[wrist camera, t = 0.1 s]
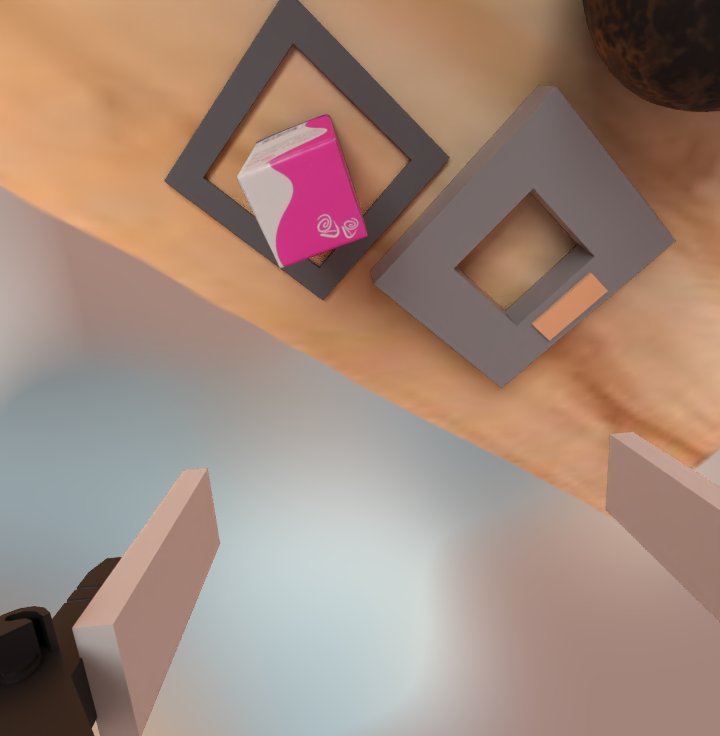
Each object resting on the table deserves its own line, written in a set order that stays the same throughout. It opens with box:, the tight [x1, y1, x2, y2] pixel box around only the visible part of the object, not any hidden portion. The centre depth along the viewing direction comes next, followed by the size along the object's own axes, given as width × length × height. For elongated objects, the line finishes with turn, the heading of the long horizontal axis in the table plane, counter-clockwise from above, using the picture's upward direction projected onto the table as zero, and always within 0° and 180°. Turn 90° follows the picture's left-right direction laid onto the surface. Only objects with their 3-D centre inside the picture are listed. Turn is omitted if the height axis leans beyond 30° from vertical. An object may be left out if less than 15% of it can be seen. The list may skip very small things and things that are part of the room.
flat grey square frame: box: [165, 0, 449, 300], centre depth 36 cm, size 15×15×1 cm
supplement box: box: [237, 115, 367, 268], centre depth 31 cm, size 6×6×12 cm
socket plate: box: [371, 85, 676, 388], centre depth 39 cm, size 18×16×3 cm
